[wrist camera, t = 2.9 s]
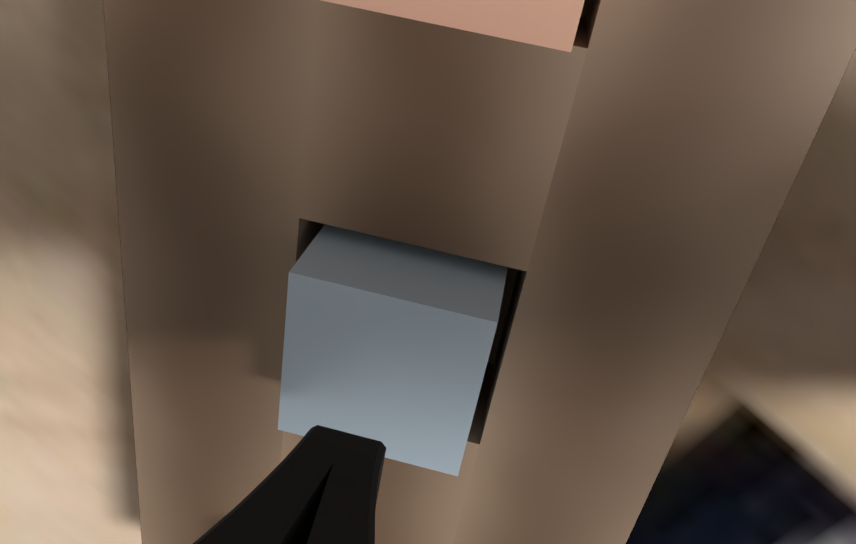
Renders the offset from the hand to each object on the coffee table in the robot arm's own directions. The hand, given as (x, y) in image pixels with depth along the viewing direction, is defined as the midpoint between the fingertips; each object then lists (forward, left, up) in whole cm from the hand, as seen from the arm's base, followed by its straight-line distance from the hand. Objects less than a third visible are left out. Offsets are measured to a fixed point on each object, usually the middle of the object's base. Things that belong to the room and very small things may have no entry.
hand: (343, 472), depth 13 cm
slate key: (0, 0, -6) cm, 6 cm away
